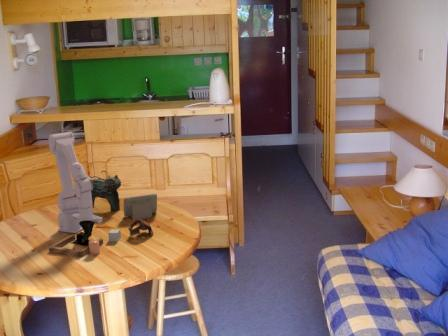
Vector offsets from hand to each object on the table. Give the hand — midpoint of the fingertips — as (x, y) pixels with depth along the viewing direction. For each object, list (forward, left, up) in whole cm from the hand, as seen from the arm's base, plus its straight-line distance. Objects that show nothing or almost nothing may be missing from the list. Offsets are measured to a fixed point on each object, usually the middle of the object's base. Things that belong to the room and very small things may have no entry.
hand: (88, 236), depth 238 cm
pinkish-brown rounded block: (+11, -11, -2) cm, 16 cm away
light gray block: (+11, +4, -2) cm, 11 cm away
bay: (0, -8, -2) cm, 8 cm away
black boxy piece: (-1, -3, -2) cm, 4 cm away
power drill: (-18, +36, -2) cm, 40 cm away
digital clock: (+6, +34, -2) cm, 34 cm away
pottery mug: (+19, +13, -2) cm, 23 cm away
